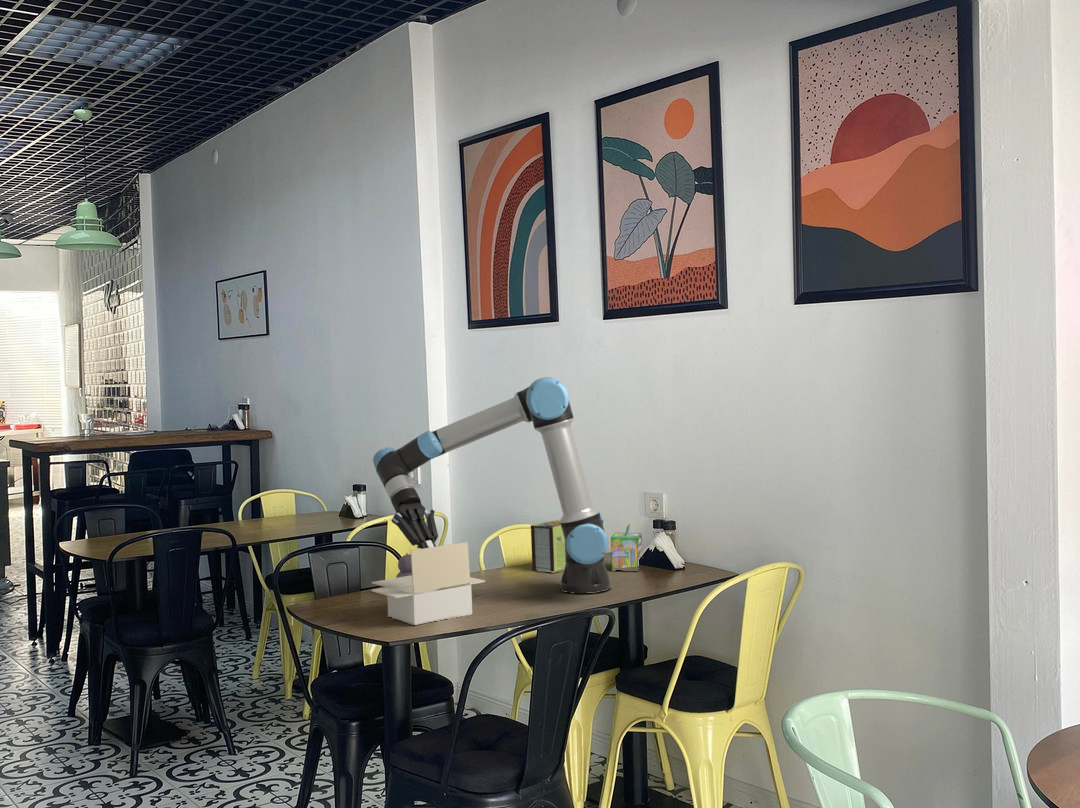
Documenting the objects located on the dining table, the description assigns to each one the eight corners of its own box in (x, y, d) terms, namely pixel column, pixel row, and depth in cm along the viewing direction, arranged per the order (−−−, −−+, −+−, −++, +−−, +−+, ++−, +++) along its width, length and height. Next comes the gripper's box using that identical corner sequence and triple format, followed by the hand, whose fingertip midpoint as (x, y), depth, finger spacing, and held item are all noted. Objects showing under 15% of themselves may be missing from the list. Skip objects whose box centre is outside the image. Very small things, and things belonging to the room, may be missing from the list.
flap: (410, 550, 251) (411, 550, 251) (466, 542, 262) (467, 542, 261) (413, 592, 251) (414, 593, 250) (469, 582, 261) (470, 582, 261)
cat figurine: (420, 596, 287) (419, 556, 286) (394, 597, 287) (392, 557, 287) (424, 590, 295) (423, 551, 295) (398, 591, 295) (397, 552, 295)
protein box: (585, 566, 326) (583, 521, 326) (554, 574, 315) (552, 526, 315) (562, 563, 333) (560, 518, 333) (531, 570, 322) (529, 524, 322)
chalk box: (616, 566, 324) (614, 522, 324) (643, 567, 322) (641, 522, 322) (610, 571, 315) (609, 526, 315) (638, 572, 313) (637, 526, 313)
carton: (355, 615, 265) (354, 584, 265) (442, 598, 282) (441, 570, 282) (397, 629, 247) (396, 597, 247) (487, 611, 264) (486, 580, 264)
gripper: (418, 501, 276) (451, 568, 263) (377, 506, 268) (409, 574, 255) (428, 484, 271) (461, 551, 259) (386, 488, 263) (419, 557, 251)
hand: (435, 562), depth 257 cm, fingers closed
